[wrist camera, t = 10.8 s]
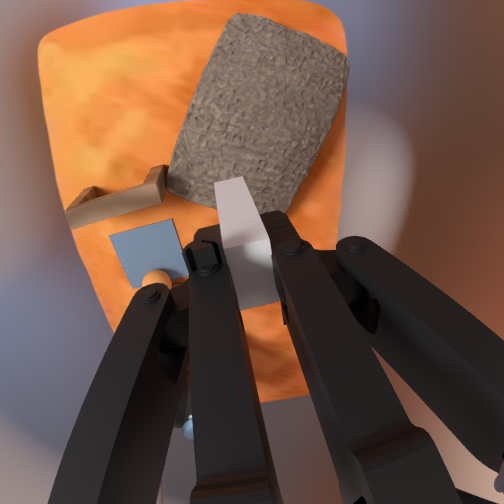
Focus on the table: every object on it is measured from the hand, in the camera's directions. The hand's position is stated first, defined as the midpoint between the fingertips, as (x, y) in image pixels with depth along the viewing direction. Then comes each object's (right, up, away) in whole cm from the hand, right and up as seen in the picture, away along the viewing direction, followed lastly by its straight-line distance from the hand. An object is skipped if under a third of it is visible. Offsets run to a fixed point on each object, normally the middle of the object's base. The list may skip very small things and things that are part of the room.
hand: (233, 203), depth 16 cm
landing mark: (-17, -3, +37) cm, 41 cm away
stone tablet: (+1, +18, +28) cm, 34 cm away
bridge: (-20, +8, +30) cm, 37 cm away
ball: (-16, -8, +38) cm, 42 cm away
